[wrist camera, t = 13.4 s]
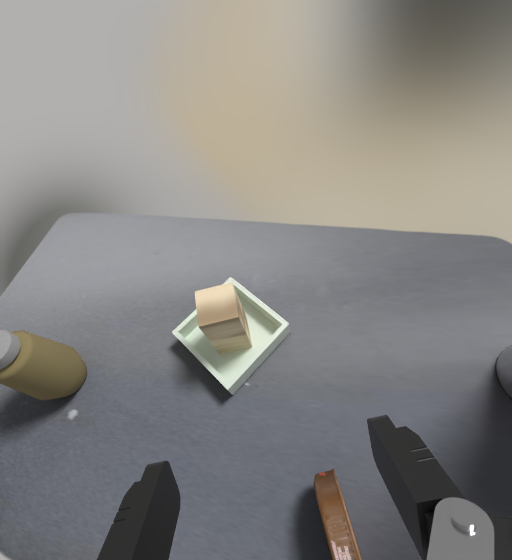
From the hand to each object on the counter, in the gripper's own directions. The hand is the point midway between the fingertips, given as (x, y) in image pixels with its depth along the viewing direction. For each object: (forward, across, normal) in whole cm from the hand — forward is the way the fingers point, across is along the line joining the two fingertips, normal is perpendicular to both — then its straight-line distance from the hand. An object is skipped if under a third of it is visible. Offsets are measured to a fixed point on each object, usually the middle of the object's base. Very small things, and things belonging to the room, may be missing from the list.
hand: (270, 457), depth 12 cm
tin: (+16, -3, +29) cm, 33 cm away
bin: (+35, +6, +9) cm, 37 cm away
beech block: (+35, +5, +9) cm, 36 cm away
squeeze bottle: (+35, +32, +10) cm, 48 cm away
